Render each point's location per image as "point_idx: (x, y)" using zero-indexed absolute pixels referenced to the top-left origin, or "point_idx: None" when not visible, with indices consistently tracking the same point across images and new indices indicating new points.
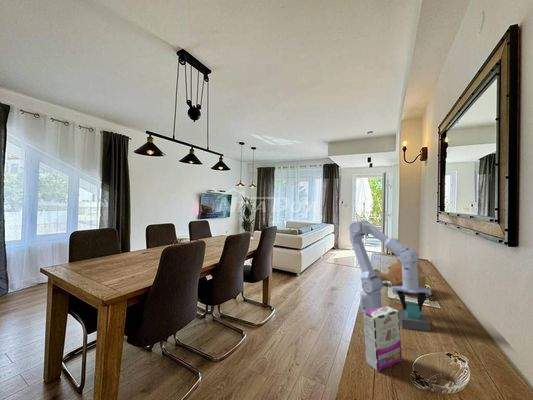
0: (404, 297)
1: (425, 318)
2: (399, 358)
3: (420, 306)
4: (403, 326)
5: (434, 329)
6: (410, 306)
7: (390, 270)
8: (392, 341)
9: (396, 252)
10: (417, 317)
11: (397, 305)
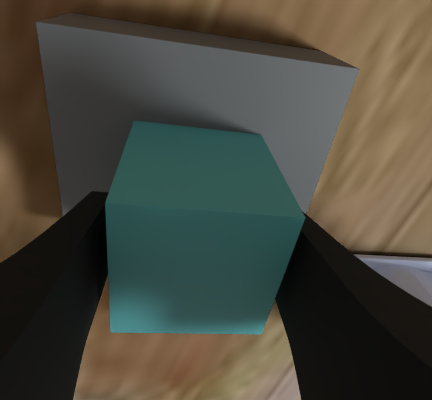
0: (421, 346)
1: (67, 137)
2: None
3: (78, 226)
4: (317, 51)
5: (21, 66)
6: (248, 207)
7: None
8: None
9: None
10: (158, 129)
11: (187, 366)
